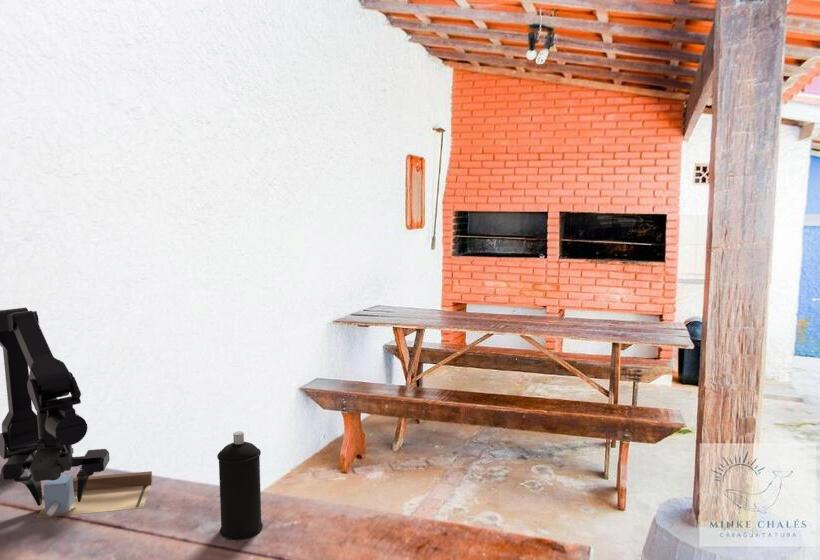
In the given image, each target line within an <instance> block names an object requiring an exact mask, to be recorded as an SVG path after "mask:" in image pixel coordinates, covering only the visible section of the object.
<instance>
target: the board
mask: <svg viewBox="0 0 820 560" xmlns="http://www.w3.org/2000/svg"><path fill="white" fill-rule="evenodd" d="M152 484H153V471H152V470H151V471H138V472H128V473H117V474H116V473H115V474H104V475H92V476H89V477H88V480H87V483H86V486H85V489H84V493H83V496H82V499H81V501H80V502H78V499H77V487H78V479H77V477H73V489H74V502H73V504H72V506H71V507H70V509H69V511H68V512H67V513H58V514H53V515H52V516H49V515H46V512H45V504H44V505H43V507H42V508H41V510H40V511H39V513H38V514H37V515H36V517H35V519H41V518H51V517H63V516H72V515H82V514H84V515H85V514H94V513H96V514H97V513H104V512H116V511H126V510H139V509H143V508H144V505H145V503H146V500H147V498H148V495H149V493H150V489H151V487H152Z"/></svg>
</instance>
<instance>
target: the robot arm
mask: <svg viewBox="0 0 820 560" xmlns="http://www.w3.org/2000/svg"><path fill="white" fill-rule="evenodd" d="M39 322H40V321H39V315H38V311H37V310H28V308H27V307H19V308H18V307H17V308H9V309H0V347H1V348H2V352H3V362H4V363H3V365H4V374H5V375H4V376H5V385H6V395H7V407H8V412H7V414H6V415H5V417H4V419H3V420H2V423H1V433H0V457H1V458H2V459H3V460H7V461H6V462H5V463H4V464H3V465H2V467H1V469H0V474H1V480H3V481H7V480H14V482H15V483H22V484H23V485H25V487H26V488H27V489H28V490H29V493H31V494H30V495H31V496H32V498H33V499H34V501H35V503H36V504H37V506H38V507H40V506H41V505H42V504H43V489H42V481H48V480H51V481H53V480H57V479H58V478H59V477H60V476H61V475H62V473H63V474H64V473H65V472H66V471H67V472H69V471H71V469H72V467H73V468H76V467H79V471H78V472H77V474H76V476H75V477H76V478H77V479H78V487H77V499H78V502H80V501H81V499H82V496H83V493H84V489H85V486H86V483H87V480H88V477H89V476H94V473H101V472H103V471H105V470H106V468H107V466H108V463H109V462H110V460H111V459H110V452H109V450H107V449H106V448H100V449H99V448H97V449H88V450H87V451H86V453H85V455H82V456H73V454H74V448H73V445H76V444H78V443H80V442H81V441H82V440H83V439H84V438H85V437H86V434H87V432H88V424H87V421H86V420H85V419H84V418H83V417H82V416H80V415H79V414H78V413H76V408H74V405H75V406H76V405H80V404H82V401H81V397H82V392H81V390H80V388H79V385H78V382H77V380H76V378H75V376H74V375H73V373H72V372H70V370H69V369H68V367H67V366H66V364H65V362H64V361H62V360H60V359H58V358H55V357H54V354H53V353H52V350H51V349H50V346H49V344H48V342H47V340H46V337H45V335H44V333H43V330H42V329H41V327H40V323H39ZM69 395H70V396H69ZM33 408H34V409H35V411H33Z"/></svg>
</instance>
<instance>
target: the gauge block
mask: <svg viewBox="0 0 820 560" xmlns="http://www.w3.org/2000/svg"><path fill="white" fill-rule="evenodd" d="M73 476H74V475H73V473H69V474H61V476H60V477H59V478H58V479H57V480H53V481H51V480H46V483H45V484H44V485H43V496H44V497H43V498H44V499H43V500H44V505H45V512H46V515H49V516H52V515H53V514H58V513H67V512H68V511H69V509H70V507H71V506H72V504H73V502H74V489H73V478H74V477H73Z"/></svg>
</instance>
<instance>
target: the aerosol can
mask: <svg viewBox="0 0 820 560" xmlns="http://www.w3.org/2000/svg"><path fill="white" fill-rule="evenodd" d="M261 453H262V451H261V450H260V448H259V447H257V446H256V445H255V444H253V443H252V442H247V441H245V434H244V431H242V430H241V431H240V430H239V431H234V432H233V442H231V443H228V444H227V445H225V446H224V447H223V448H222V449H221V450H220V451H219V452H218V453H217V455H216V457H217V460H218V468H219V469H218V475H219V476H218V477H219V504H220V528H219V532H220V535H221V536H222V537H223V538H224V539H225V538H226V539H228V540H231V541H232V540H233V541H241V540H242V541H243V540H247V539H250V538H253V537H254V536H257V535H258V534H259V533H260V532H261V531H262V529H263V528H264V527H263V526H264V525H263V522H262V502H261V501H262V499H261V498H262V497H261V492H262V491H261V461H260V460H261V458H260V457H261Z"/></svg>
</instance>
